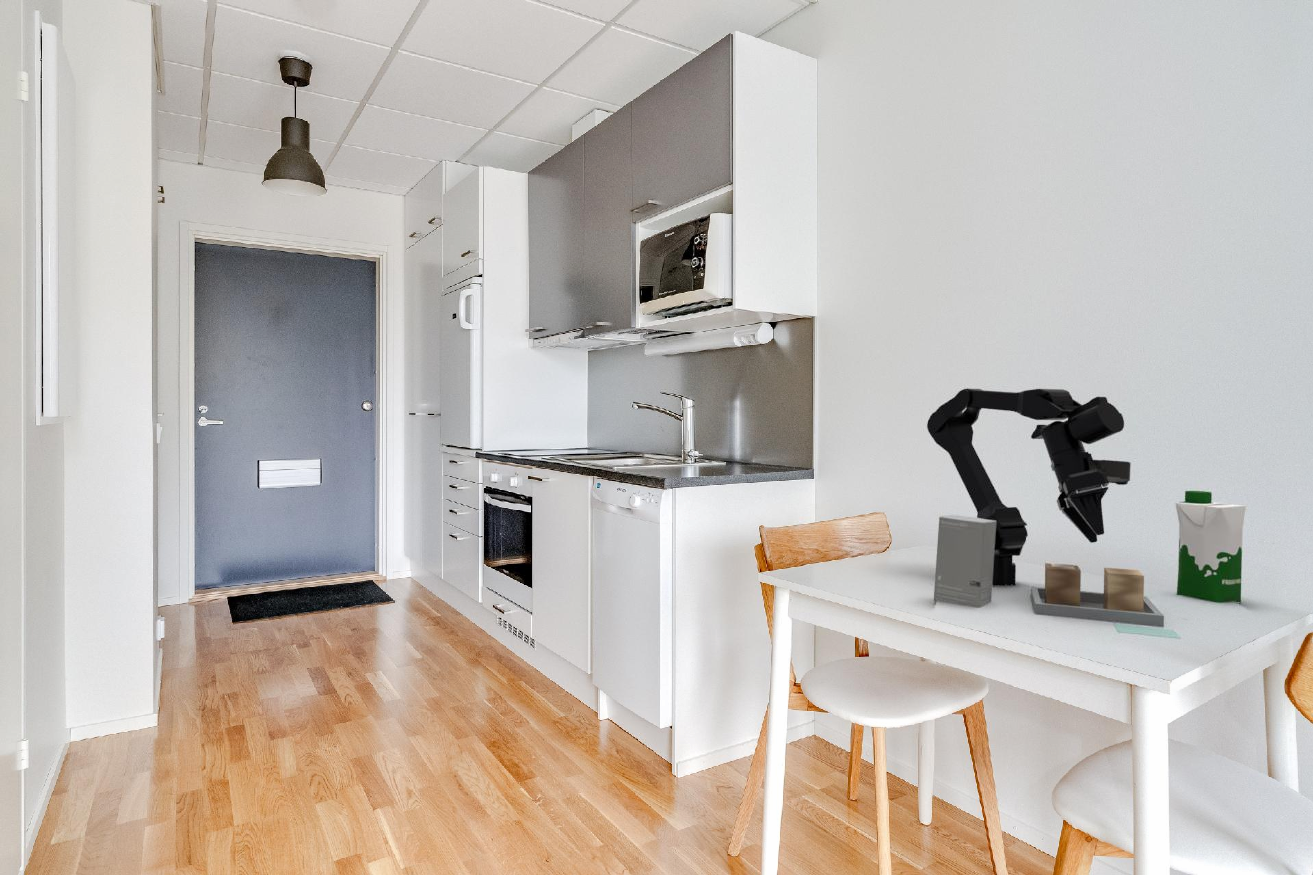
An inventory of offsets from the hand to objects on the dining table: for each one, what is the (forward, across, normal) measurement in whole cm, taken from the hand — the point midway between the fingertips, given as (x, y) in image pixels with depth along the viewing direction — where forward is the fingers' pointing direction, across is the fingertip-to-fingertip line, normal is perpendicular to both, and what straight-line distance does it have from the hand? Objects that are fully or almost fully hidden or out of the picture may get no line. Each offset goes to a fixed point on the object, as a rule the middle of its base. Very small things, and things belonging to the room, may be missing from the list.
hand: (1097, 538), depth 127 cm
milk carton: (+13, +22, -17) cm, 31 cm away
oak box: (+13, +2, 0) cm, 13 cm away
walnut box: (+10, +1, +9) cm, 13 cm away
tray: (+12, +2, +4) cm, 13 cm away
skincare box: (+7, 0, +24) cm, 25 cm away
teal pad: (+17, -9, 0) cm, 19 cm away
